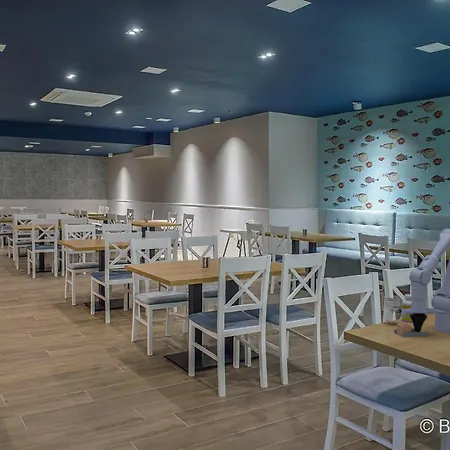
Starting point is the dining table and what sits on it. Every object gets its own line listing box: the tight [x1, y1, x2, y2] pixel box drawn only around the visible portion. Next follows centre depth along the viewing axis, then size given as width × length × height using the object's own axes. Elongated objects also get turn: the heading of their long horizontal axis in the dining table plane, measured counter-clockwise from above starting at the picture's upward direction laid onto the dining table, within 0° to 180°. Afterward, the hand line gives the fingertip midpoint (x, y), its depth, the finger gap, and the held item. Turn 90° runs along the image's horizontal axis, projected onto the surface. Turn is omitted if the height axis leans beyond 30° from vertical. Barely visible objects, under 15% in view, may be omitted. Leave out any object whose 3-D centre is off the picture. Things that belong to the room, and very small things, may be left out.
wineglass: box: [384, 297, 402, 325], centre depth 221 cm, size 7×7×12 cm
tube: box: [393, 327, 428, 338], centre depth 206 cm, size 11×6×3 cm, turn 103°
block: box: [396, 323, 413, 337], centre depth 205 cm, size 4×4×4 cm
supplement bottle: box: [400, 293, 413, 324], centre depth 228 cm, size 7×7×13 cm
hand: (417, 331), depth 206 cm, fingers closed
